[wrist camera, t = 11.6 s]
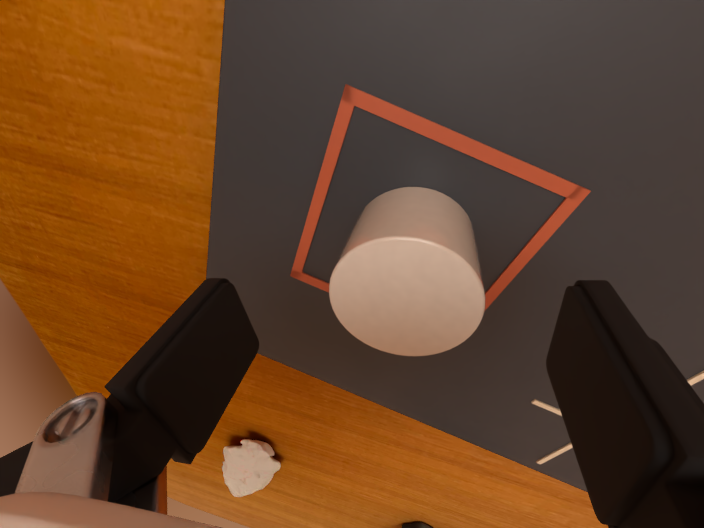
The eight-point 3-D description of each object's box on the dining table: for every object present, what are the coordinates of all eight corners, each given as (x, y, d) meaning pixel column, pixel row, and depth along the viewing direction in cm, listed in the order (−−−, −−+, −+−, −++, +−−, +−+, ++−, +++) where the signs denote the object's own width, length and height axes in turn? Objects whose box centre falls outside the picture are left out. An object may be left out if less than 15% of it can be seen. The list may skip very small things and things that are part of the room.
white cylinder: (345, 189, 13) (313, 238, 10) (478, 181, 11) (493, 235, 8) (362, 288, 15) (341, 352, 12) (471, 290, 14) (479, 363, 11)
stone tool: (234, 415, 29) (219, 478, 38) (222, 438, 28) (209, 499, 36) (293, 437, 30) (265, 494, 38) (285, 461, 28) (257, 515, 36)
